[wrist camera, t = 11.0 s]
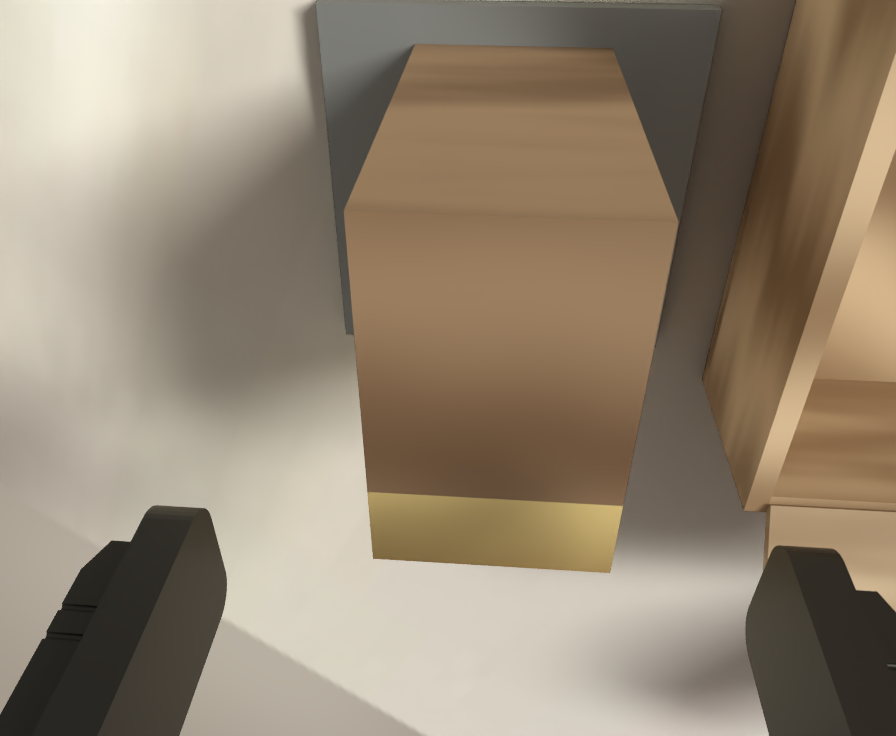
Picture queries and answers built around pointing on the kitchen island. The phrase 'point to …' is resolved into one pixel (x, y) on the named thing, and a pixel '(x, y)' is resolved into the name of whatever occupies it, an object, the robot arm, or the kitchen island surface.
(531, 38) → the mat
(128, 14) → the kitchen island surface
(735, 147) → the kitchen island surface
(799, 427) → the carton
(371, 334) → the block
